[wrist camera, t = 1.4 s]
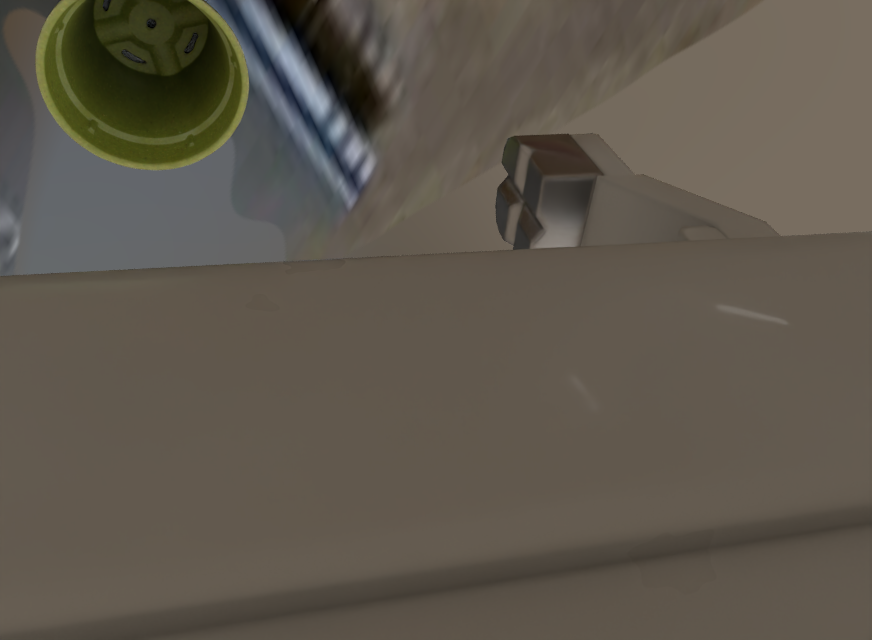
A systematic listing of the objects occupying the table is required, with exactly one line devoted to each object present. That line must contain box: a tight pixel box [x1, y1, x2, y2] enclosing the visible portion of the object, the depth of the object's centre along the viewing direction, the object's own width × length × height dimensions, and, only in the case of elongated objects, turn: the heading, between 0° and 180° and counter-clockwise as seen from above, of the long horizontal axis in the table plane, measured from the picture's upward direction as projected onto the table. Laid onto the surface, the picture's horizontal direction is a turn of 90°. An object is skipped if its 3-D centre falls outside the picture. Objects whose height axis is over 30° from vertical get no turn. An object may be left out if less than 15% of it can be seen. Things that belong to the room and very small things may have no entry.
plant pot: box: [35, 0, 249, 170], centre depth 41 cm, size 9×9×9 cm
